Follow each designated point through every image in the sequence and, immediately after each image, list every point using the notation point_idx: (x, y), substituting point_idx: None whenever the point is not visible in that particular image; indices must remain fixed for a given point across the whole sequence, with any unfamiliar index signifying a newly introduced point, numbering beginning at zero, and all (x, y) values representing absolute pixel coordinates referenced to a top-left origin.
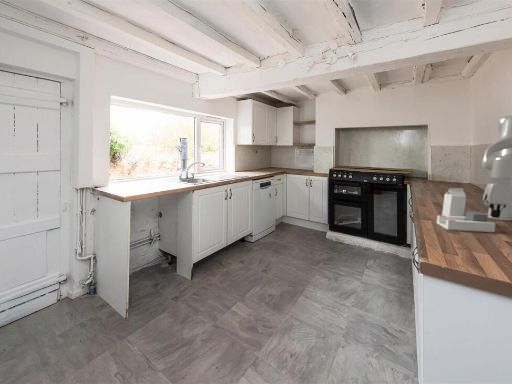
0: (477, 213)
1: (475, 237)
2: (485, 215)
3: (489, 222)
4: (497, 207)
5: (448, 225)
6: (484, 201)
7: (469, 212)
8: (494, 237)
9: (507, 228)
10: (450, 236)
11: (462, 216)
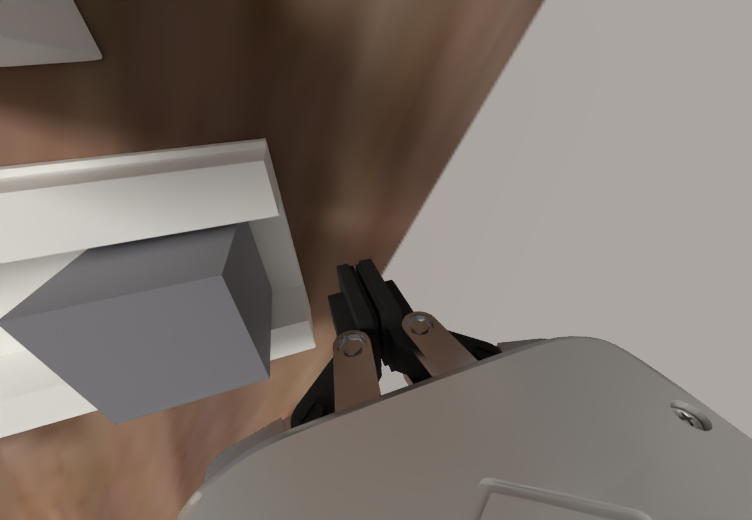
0: (167, 371)
1: (174, 431)
2: (248, 377)
3: (281, 343)
4: (414, 354)
5: None
6: (231, 474)
7: (53, 367)
8: (269, 389)
9: (440, 176)
10: (32, 483)
11: (13, 193)
